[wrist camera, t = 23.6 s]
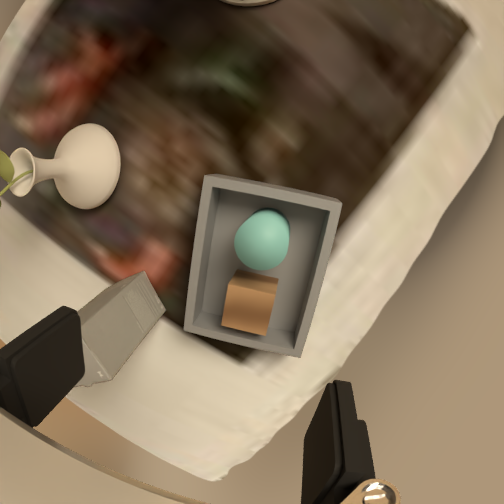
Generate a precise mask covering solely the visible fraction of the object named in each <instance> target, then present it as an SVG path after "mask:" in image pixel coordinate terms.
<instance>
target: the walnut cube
mask: <svg viewBox="0 0 504 504" xmlns="http://www.w3.org/2000/svg"><path fill="white" fill-rule="evenodd" d="M278 280H279V279H278V278H274V277H269V276H265V275H260V274H256V273H252V272H247V271H243V270H239V269H237V270H236V272H235V274H234V275H233V277H232V279H231V280H230V282H229V284H228V289H227V294H226V300H225V306H224V312H223V317H222V323H221V325H222V326H226V327H230V328H234V329H238V330H242V331H247V332H251V333H255V334H260V335H264V336H266V333H267V329H268V325H269V321H270V316H271V312H272V308H273V304H274V300H275V296H276V291H277V285H278Z"/></svg>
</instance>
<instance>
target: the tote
mask: <svg viewBox="0 0 504 504" xmlns="http://www.w3.org/2000/svg"><path fill="white" fill-rule="evenodd" d="M341 207H342V203H341V202H340V201H339V200H338V199H337V198H332V197H328V196H324V195H320V194H315V193H311V192H306V191H302V190H297V189H292V188H288V187H283V186H278V185H273V184H268V183H263V182H258V181H253V180H248V179H242V178H237V177H232V176H226V175H220V174H211V175H204V181H203V187H202V193H201V200H200V206H199V213H198V219H197V226H196V233H195V240H194V247H193V255H192V262H191V270H190V278H189V286H188V295H187V303H186V312H185V321H184V331H188V332H191V333H195V334H199V335H202V336H206V337H210V338H214V339H218V340H222V341H226V342H230V343H234V344H238V345H242V346H247V347H251V348H255V349H260V350H264V351H269V352H273V353H278V354H283V355H288V356H293V357H298V358H301V354H302V351H303V348H304V345H305V342H306V338H307V335H308V332H309V328H310V325H311V322H312V318H313V315H314V311H315V308H316V305H317V301H318V297H319V294H320V290H321V287H322V283H323V279H324V276H325V272H326V268H327V264H328V261H329V257H330V253H331V249H332V245H333V241H334V237H335V233H336V229H337V224H338V220H339V216H340V212H341ZM261 208H274V209H277V210H279V211H281V212H282V213H283V214H284V215H285V216H286V217H287V219H288V221H289V224H290V238H289V245H288V251H287V254H286V256H285V258H284V260H283V261H282V262H281V263H280V264H279V265H277V266H276V267H274V268H272V269H269V270H255V269H252V268H250V267H248V266H246V265H245V264H244V263H243V262H242V261H241V260H240V259H239V258H238V256H237V254H236V251H235V247H234V240H235V235H236V233H237V231H238V229H239V228H240V226H241V225H242V224H243V223H244V222H245V221H246V220H247V219H248V218H249V217H250V216H251V215H252V214H253V213H254V212H255V211H257V210H259V209H261ZM237 269H239V270H243V271H247V272H252V273H256V274H260V275H265V276H269V277H274V278H278V279H279V280H278V285H277V291H276V296H275V300H274V304H273V308H272V312H271V316H270V321H269V325H268V329H267V333H266V336H264V335H260V334H255V333H251V332H247V331H242V330H238V329H234V328H230V327H226V326H222V325H221V323H222V317H223V312H224V306H225V300H226V294H227V289H228V284H229V282H230V280H231V279H232V277H233V275H234V274H235V272H236V270H237Z"/></svg>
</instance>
